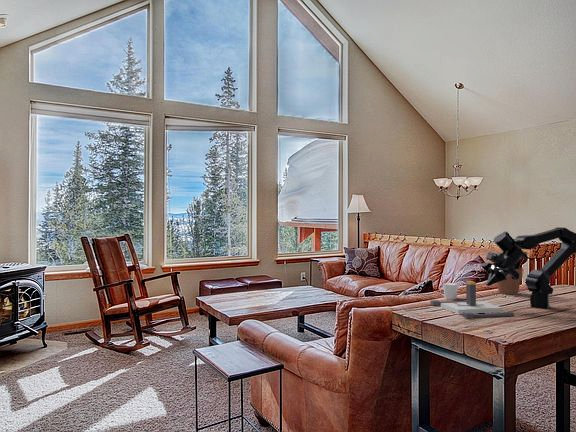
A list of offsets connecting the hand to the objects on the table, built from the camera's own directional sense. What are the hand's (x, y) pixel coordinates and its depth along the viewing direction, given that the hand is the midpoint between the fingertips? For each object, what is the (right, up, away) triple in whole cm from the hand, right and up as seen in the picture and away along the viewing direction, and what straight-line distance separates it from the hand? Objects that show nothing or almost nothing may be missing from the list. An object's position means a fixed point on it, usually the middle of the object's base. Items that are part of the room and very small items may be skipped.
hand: (487, 285), depth 188 cm
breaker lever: (-7, -8, -1) cm, 11 cm away
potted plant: (+29, -10, +39) cm, 50 cm away
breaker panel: (-7, -10, -1) cm, 13 cm away
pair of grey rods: (-7, -10, -1) cm, 13 cm away
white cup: (-6, -11, +27) cm, 29 cm away
